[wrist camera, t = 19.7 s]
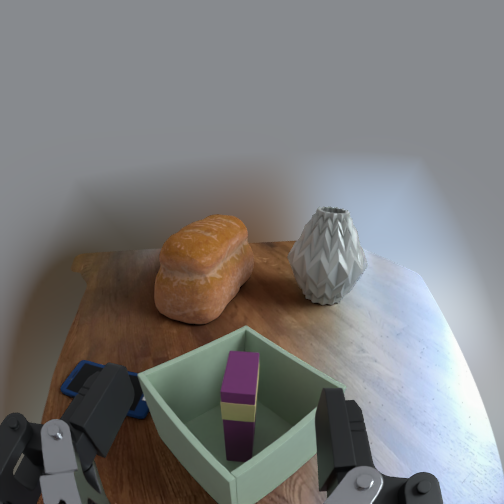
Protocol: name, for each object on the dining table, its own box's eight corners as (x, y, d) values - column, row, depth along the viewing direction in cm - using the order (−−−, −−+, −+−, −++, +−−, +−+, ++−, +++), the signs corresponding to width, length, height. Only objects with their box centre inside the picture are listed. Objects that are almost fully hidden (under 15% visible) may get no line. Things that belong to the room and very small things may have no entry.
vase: (269, 294, 60) (273, 206, 53) (316, 273, 70) (323, 199, 64) (332, 327, 49) (348, 226, 42) (373, 296, 59) (388, 214, 52)
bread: (148, 315, 50) (138, 237, 45) (208, 264, 74) (206, 206, 68) (213, 333, 47) (210, 247, 41) (258, 272, 70) (260, 211, 65)
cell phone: (145, 420, 28) (143, 417, 28) (59, 392, 29) (57, 389, 29) (162, 381, 35) (161, 377, 35) (82, 362, 36) (81, 358, 36)
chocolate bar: (232, 425, 28) (229, 349, 24) (255, 427, 28) (260, 352, 24) (225, 460, 23) (219, 391, 19) (252, 463, 23) (255, 395, 19)
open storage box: (245, 389, 35) (246, 325, 31) (323, 446, 26) (347, 386, 22) (159, 435, 26) (136, 373, 23) (233, 517, 17) (228, 482, 14)
